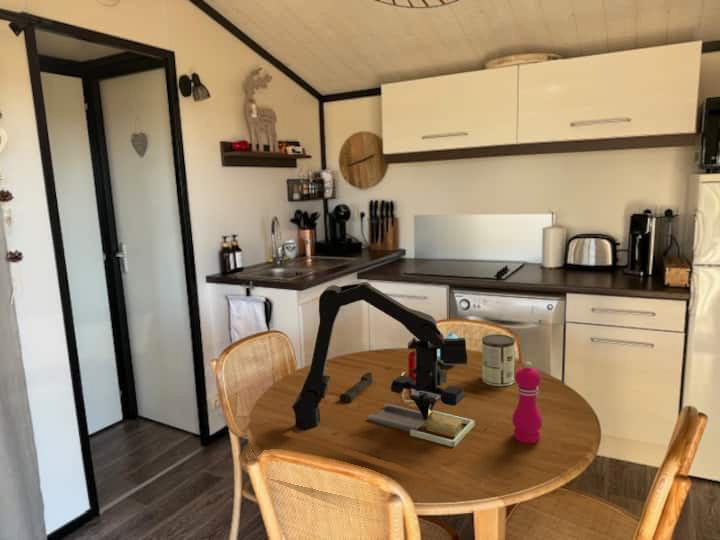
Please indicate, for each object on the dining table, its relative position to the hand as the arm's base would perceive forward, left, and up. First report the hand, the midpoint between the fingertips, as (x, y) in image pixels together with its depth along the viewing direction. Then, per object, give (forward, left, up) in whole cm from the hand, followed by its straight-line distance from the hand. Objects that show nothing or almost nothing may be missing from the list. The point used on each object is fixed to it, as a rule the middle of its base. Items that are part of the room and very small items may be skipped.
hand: (426, 420), depth 136 cm
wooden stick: (+11, +29, -3) cm, 32 cm away
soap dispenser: (+52, +17, -3) cm, 55 cm away
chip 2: (0, -7, -2) cm, 7 cm away
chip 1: (0, -3, -2) cm, 4 cm away
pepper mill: (+9, -24, -3) cm, 25 cm away
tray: (0, -5, -3) cm, 5 cm away
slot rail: (0, +8, -3) cm, 9 cm away
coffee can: (+42, -5, -3) cm, 42 cm away
